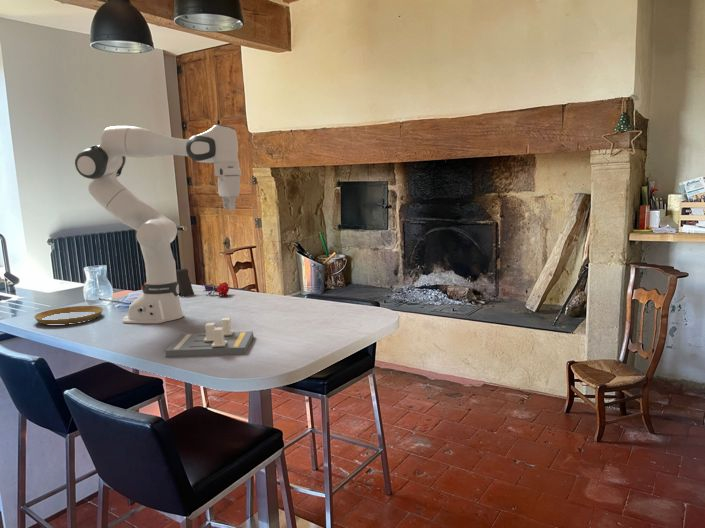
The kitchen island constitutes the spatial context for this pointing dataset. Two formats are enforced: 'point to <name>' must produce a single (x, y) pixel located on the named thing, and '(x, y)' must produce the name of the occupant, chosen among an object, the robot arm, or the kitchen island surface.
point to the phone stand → (184, 282)
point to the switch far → (227, 326)
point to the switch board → (209, 345)
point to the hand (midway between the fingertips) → (229, 209)
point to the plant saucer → (67, 310)
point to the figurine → (218, 289)
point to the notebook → (121, 293)
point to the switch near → (218, 337)
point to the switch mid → (209, 332)
